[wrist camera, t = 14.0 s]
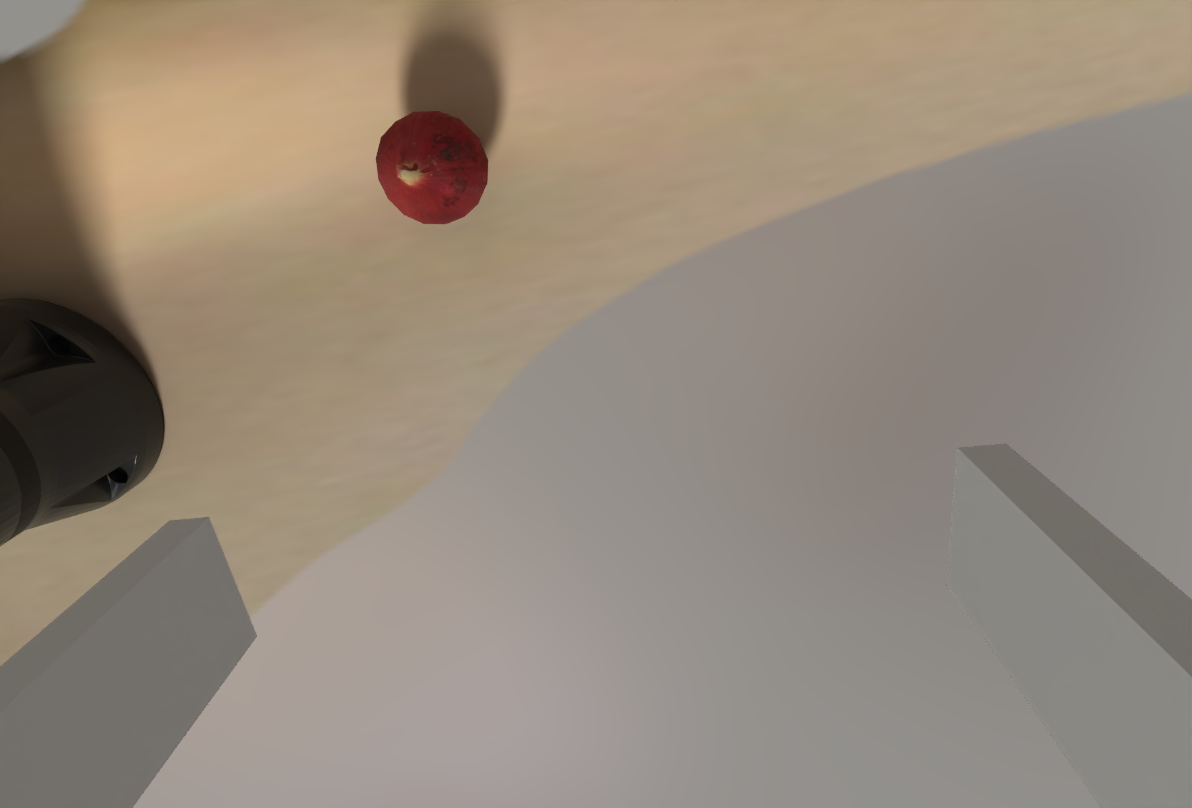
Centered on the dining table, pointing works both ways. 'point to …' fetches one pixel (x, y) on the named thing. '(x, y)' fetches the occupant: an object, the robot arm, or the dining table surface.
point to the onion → (432, 167)
